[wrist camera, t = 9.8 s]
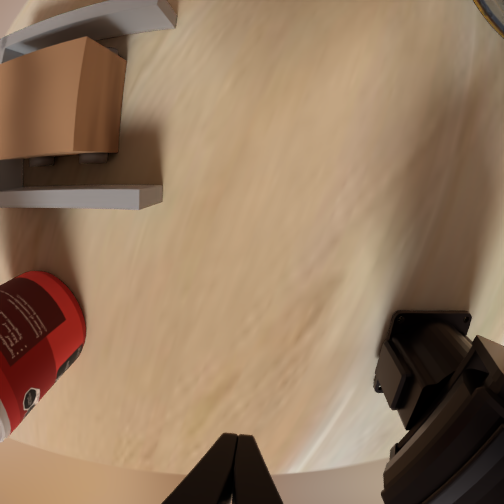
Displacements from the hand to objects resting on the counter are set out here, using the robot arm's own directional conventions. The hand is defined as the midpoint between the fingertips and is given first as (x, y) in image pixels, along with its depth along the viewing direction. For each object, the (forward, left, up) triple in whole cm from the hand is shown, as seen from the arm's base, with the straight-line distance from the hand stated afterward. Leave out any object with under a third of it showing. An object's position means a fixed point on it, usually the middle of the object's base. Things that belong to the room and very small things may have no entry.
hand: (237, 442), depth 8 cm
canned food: (+16, +4, -12) cm, 21 cm away
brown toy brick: (+12, -11, -12) cm, 21 cm away
